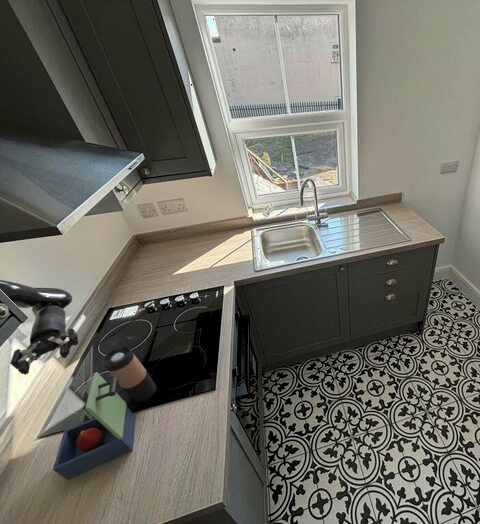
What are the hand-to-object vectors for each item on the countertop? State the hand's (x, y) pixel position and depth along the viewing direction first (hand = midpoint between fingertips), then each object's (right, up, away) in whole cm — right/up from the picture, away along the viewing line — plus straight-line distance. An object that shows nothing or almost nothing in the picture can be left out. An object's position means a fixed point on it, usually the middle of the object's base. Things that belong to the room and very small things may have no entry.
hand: (44, 363), depth 82 cm
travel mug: (+14, -17, +20) cm, 30 cm away
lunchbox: (+12, -27, +6) cm, 30 cm away
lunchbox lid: (+18, -12, 0) cm, 21 cm away
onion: (+10, -26, +5) cm, 29 cm away
